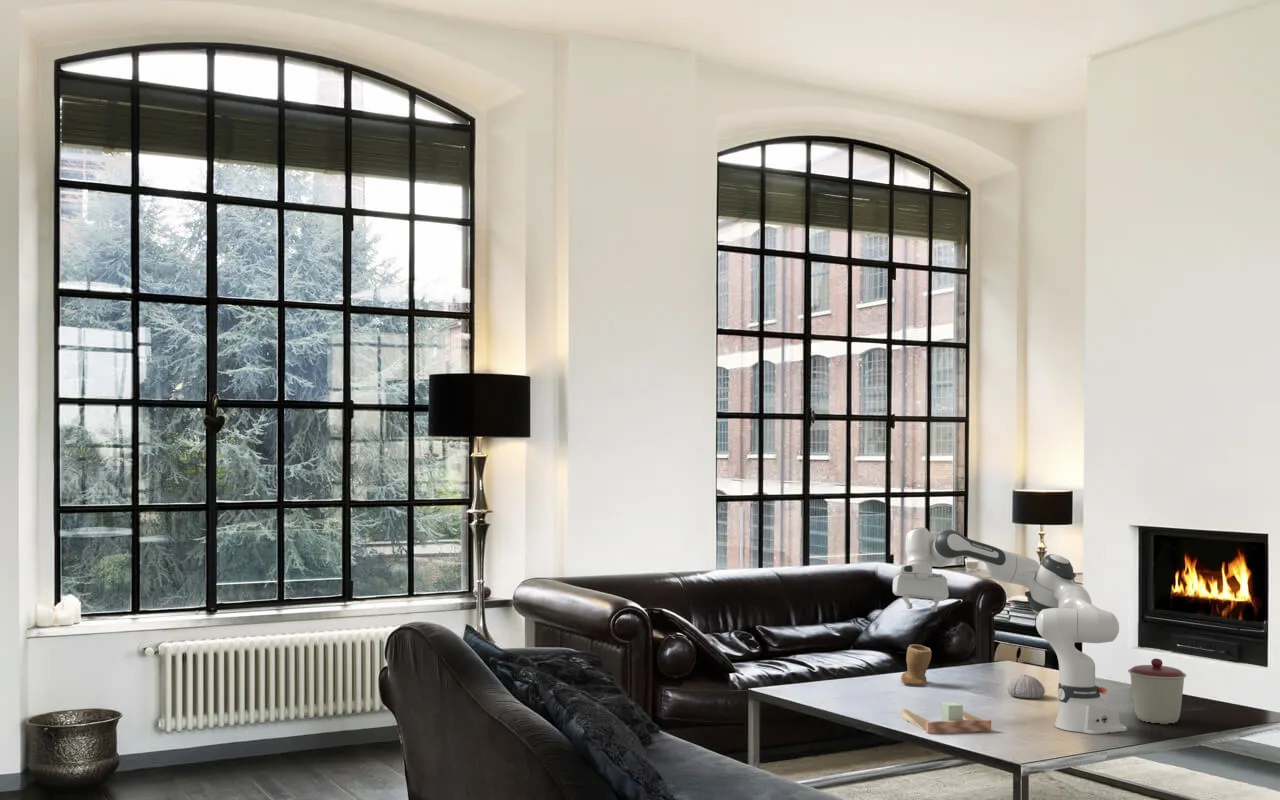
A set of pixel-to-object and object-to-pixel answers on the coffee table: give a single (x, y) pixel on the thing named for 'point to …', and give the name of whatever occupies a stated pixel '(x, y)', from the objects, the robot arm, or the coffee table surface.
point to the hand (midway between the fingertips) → (921, 609)
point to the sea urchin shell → (1025, 687)
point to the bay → (949, 723)
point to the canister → (1157, 692)
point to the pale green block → (952, 711)
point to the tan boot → (916, 664)
